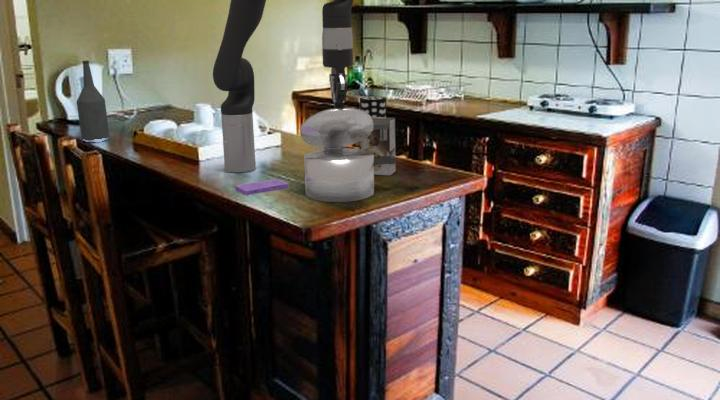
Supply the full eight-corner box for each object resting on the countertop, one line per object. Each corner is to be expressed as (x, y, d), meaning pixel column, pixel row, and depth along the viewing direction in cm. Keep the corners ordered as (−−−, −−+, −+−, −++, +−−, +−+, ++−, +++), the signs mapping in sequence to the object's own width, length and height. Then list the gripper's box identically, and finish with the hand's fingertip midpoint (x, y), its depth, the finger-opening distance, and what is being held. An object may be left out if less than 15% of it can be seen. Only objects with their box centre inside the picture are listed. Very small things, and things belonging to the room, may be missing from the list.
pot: (310, 204, 154) (308, 164, 151) (301, 185, 171) (300, 150, 168) (403, 197, 159) (404, 159, 156) (386, 180, 176) (386, 145, 173)
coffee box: (396, 171, 186) (396, 117, 182) (390, 176, 181) (390, 120, 176) (367, 169, 189) (366, 116, 185) (360, 173, 183) (359, 119, 179)
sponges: (288, 189, 169) (288, 183, 169) (245, 197, 163) (244, 190, 162) (277, 184, 175) (277, 178, 174) (235, 191, 168) (234, 184, 168)
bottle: (76, 141, 237) (64, 61, 229) (98, 137, 245) (88, 59, 237) (93, 144, 232) (82, 61, 223) (115, 139, 240) (105, 60, 231)
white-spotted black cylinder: (359, 158, 204) (358, 96, 198) (384, 157, 205) (384, 96, 199) (361, 163, 196) (360, 100, 190) (387, 163, 197) (387, 99, 191)
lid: (303, 113, 151) (302, 102, 152) (298, 151, 169) (297, 140, 170) (397, 110, 156) (395, 98, 157) (382, 146, 173) (381, 136, 174)
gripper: (318, 46, 159) (320, 113, 164) (326, 48, 146) (328, 122, 151) (347, 45, 160) (348, 112, 165) (358, 47, 148) (359, 120, 153)
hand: (339, 117), depth 158 cm, fingers closed
